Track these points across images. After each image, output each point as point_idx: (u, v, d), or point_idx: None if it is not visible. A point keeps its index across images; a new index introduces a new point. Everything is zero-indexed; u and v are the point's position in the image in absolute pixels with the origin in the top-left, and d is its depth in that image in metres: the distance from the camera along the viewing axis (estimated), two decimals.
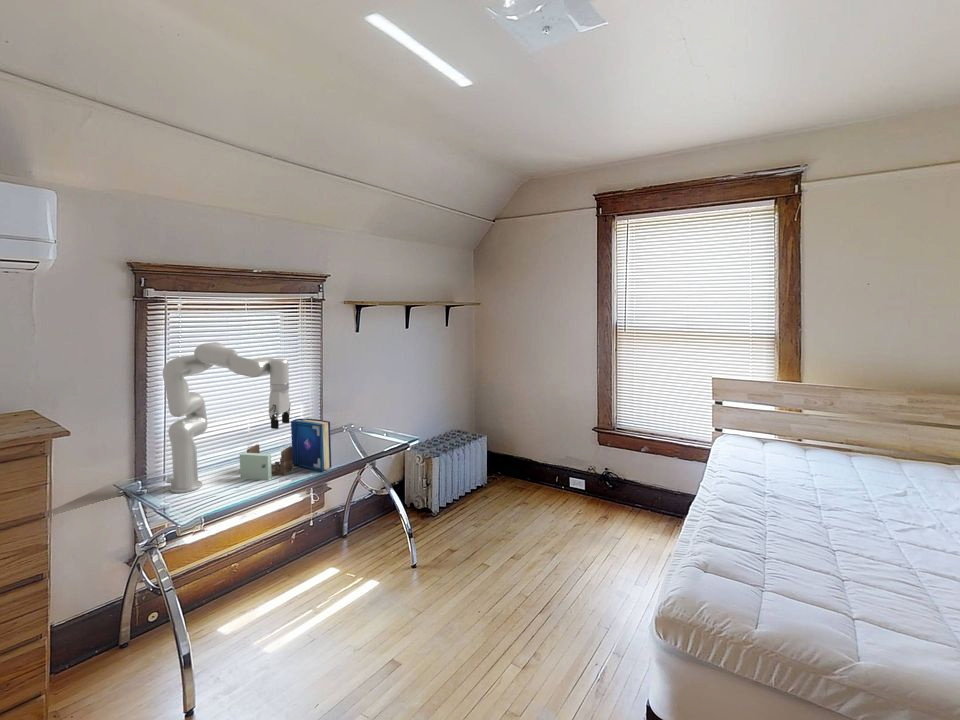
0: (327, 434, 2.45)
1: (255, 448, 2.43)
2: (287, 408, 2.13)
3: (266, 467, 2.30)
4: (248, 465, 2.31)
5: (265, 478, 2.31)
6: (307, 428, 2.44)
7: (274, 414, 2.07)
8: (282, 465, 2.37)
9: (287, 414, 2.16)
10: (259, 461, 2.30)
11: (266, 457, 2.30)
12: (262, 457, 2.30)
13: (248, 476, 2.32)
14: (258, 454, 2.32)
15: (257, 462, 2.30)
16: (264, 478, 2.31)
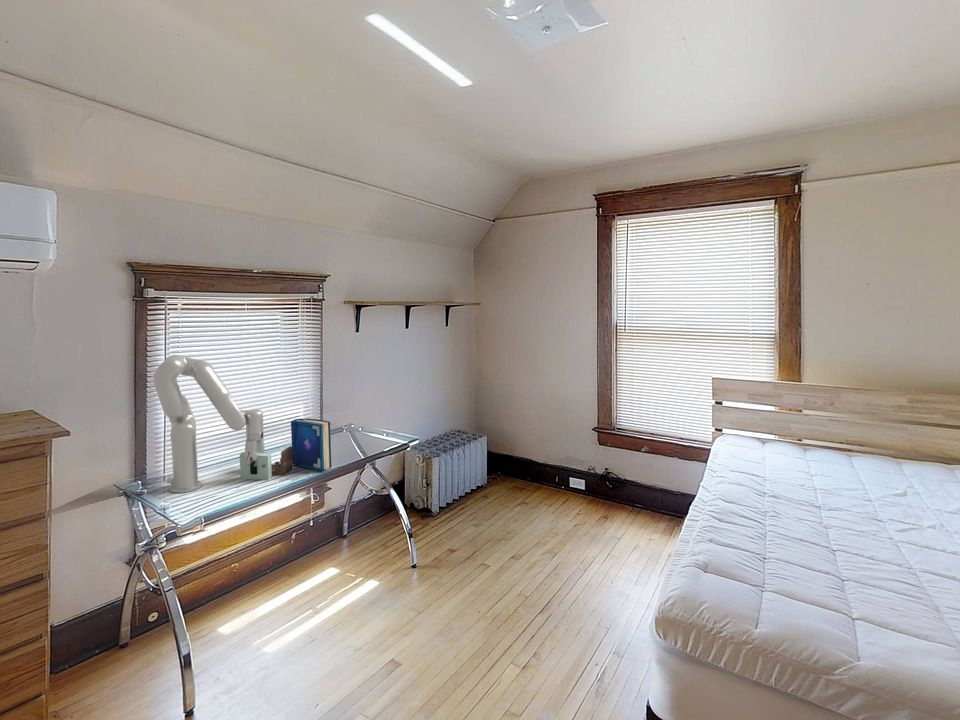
0: (327, 434, 2.45)
1: None
2: None
3: (266, 467, 2.30)
4: (248, 465, 2.31)
5: (265, 478, 2.31)
6: (307, 428, 2.44)
7: None
8: (282, 465, 2.37)
9: None
10: (259, 461, 2.30)
11: (266, 457, 2.30)
12: (262, 457, 2.30)
13: (248, 476, 2.32)
14: None
15: (257, 461, 2.30)
16: (264, 478, 2.31)
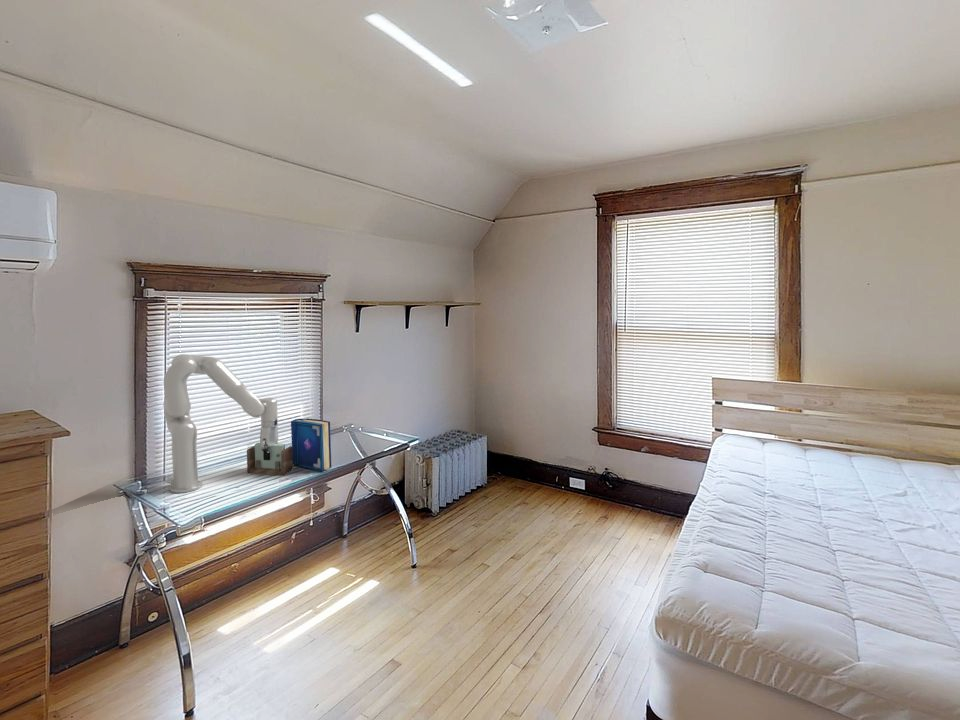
0: (327, 434, 2.45)
1: None
2: (276, 440, 2.43)
3: (280, 456, 2.40)
4: None
5: None
6: (307, 428, 2.44)
7: (265, 447, 2.38)
8: (282, 465, 2.37)
9: None
10: (273, 450, 2.40)
11: (280, 447, 2.39)
12: (276, 447, 2.39)
13: (262, 465, 2.41)
14: None
15: (272, 451, 2.40)
16: None
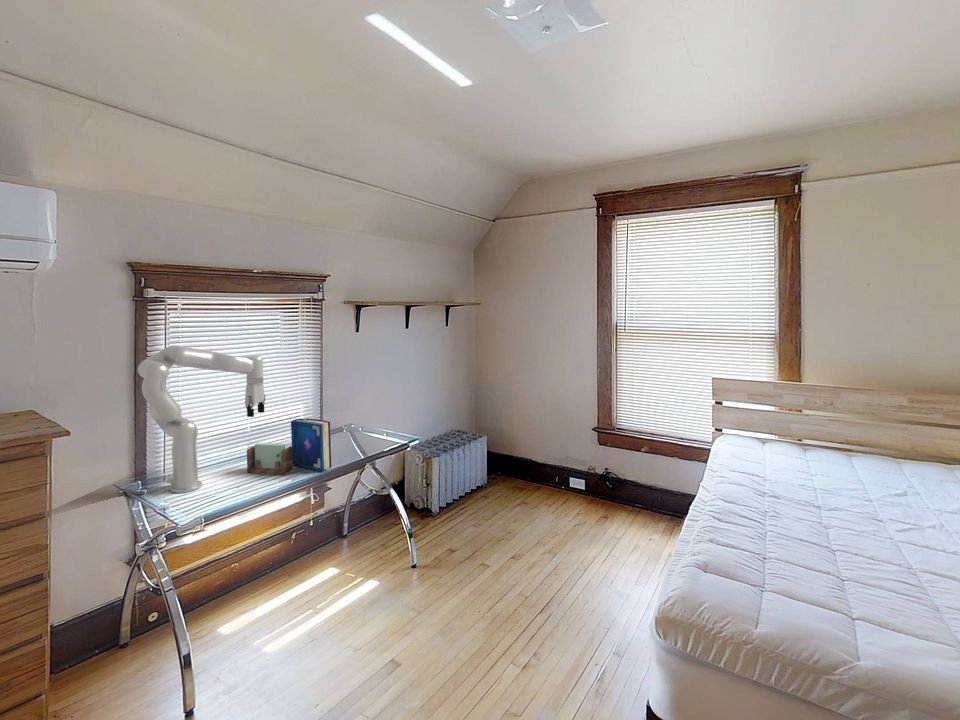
0: (327, 434, 2.45)
1: None
2: (262, 399, 2.43)
3: (280, 456, 2.40)
4: (263, 455, 2.40)
5: None
6: (307, 428, 2.44)
7: (250, 404, 2.37)
8: (282, 465, 2.37)
9: (262, 404, 2.46)
10: (273, 450, 2.40)
11: (280, 447, 2.39)
12: (276, 447, 2.39)
13: (262, 465, 2.41)
14: (273, 444, 2.41)
15: (272, 451, 2.40)
16: None
